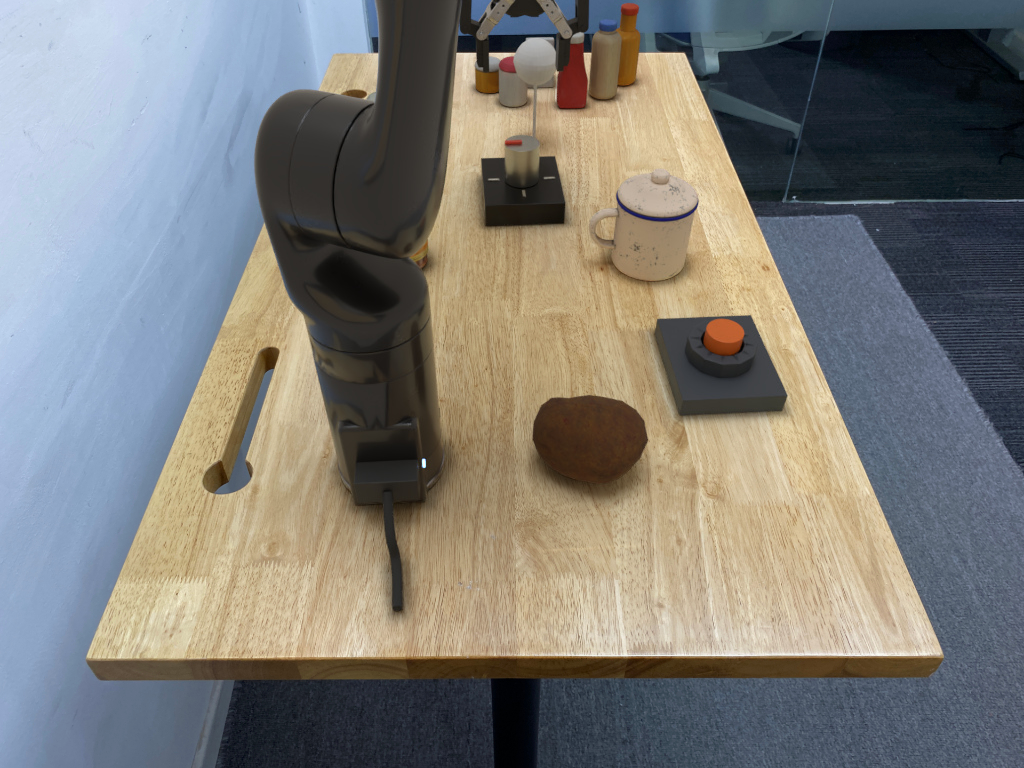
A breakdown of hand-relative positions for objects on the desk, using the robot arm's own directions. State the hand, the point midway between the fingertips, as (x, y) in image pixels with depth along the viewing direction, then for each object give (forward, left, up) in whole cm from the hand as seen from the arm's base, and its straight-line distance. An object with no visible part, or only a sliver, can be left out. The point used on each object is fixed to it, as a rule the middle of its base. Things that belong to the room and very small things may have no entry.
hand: (522, 69), depth 89 cm
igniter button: (-34, -17, -14) cm, 40 cm away
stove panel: (0, 0, -17) cm, 17 cm away
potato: (-45, -2, -17) cm, 49 cm away
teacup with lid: (-14, -13, -17) cm, 26 cm away
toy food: (+33, -9, -17) cm, 38 cm away
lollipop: (+15, -3, -17) cm, 23 cm away
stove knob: (0, 0, -14) cm, 14 cm away
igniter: (-34, -17, -17) cm, 42 cm away
